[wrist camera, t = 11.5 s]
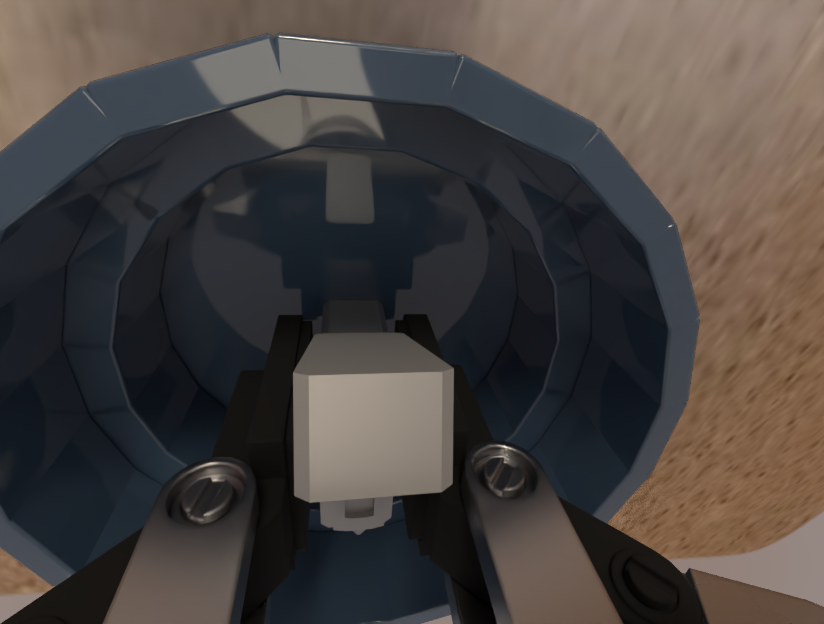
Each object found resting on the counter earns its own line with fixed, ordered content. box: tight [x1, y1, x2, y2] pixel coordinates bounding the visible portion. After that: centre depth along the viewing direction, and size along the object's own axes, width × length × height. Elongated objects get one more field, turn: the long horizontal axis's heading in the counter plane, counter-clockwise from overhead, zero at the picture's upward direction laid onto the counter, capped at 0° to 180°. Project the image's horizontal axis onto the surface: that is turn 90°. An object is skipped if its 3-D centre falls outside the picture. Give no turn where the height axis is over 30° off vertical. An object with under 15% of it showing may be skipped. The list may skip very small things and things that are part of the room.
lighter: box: [293, 300, 454, 535], centre depth 9 cm, size 7×2×8 cm, turn 176°
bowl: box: [0, 33, 700, 624], centre depth 10 cm, size 13×13×6 cm
